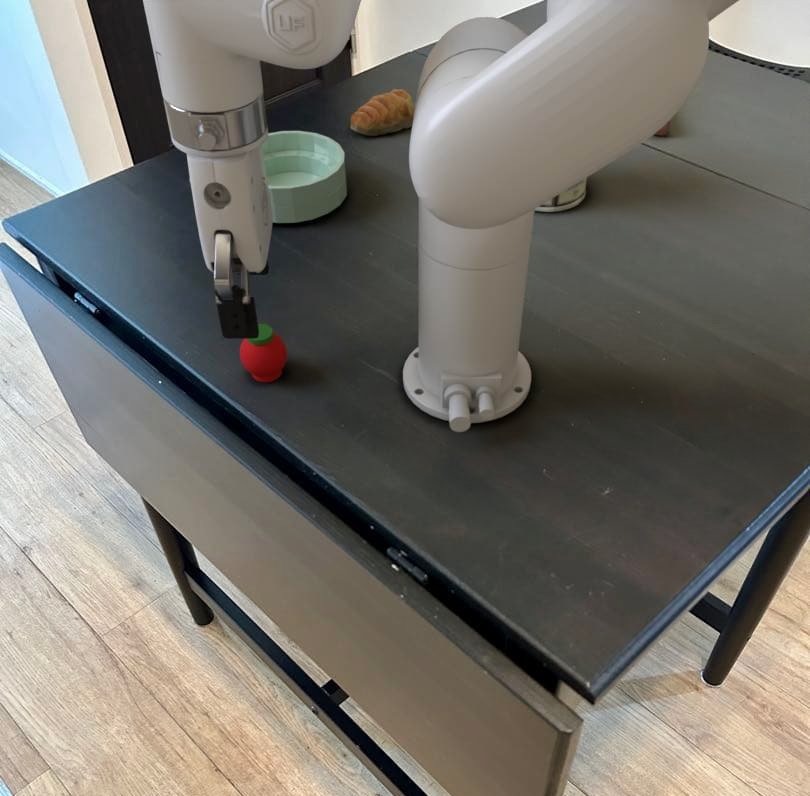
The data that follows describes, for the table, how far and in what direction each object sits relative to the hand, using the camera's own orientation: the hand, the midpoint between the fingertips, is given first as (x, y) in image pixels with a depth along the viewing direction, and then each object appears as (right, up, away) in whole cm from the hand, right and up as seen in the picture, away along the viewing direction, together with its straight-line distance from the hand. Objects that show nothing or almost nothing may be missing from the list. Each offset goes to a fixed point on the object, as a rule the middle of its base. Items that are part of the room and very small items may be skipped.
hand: (247, 303), depth 77 cm
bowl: (0, +21, +28) cm, 35 cm away
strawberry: (+1, -5, +6) cm, 8 cm away
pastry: (+12, +36, +40) cm, 55 cm away
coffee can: (+32, +22, +28) cm, 48 cm away
